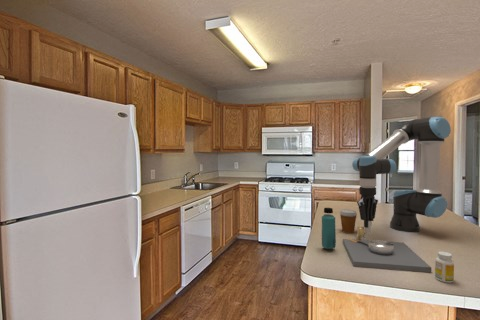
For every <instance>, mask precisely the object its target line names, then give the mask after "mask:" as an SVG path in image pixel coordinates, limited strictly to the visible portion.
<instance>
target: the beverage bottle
mask: <svg viewBox="0 0 480 320" xmlns="http://www.w3.org/2000/svg"><path fill="white" fill-rule="evenodd" d="M323 213H325V214H323V215H322V216H321V247H322V248H325V249H328V250H332V249H336V247H337V245H336V244H337V243H336V242H337V237H336V235H337V234H336V229H337V228H336V217H335V216H334V215H333V213H334V209H333V208H332V207H324V208H323Z"/></svg>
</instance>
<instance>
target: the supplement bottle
mask: <svg viewBox="0 0 480 320" xmlns="http://www.w3.org/2000/svg"><path fill="white" fill-rule="evenodd" d="M452 259H453V254H452V253H450V252H446V251H438V252H437V257H436V258H435V262H434V264H435V268H434V269H435V272H434V276H435V279H436V280H438V281H440V282H442V283H447V284H450V283H454V281H455V279H454V278H455V262H454V260H452Z"/></svg>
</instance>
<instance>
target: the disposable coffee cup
mask: <svg viewBox="0 0 480 320" xmlns="http://www.w3.org/2000/svg"><path fill="white" fill-rule="evenodd" d="M339 215H340V222H341V223H340V224H341V230H342V232H343V233H346V234H354V233H355V228H356V227H355V226H356V222H357V221H356V220H357V215H358V212H357V211H356V210H354V209H347V208H346V209H340V210H339Z"/></svg>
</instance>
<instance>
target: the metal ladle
mask: <svg viewBox="0 0 480 320" xmlns="http://www.w3.org/2000/svg"><path fill="white" fill-rule="evenodd" d="M356 229H357V232H356V233H357V235H355V240H358V241H360V242H363V243H365V244H367V245H368V249H369V250H370V251H371V252H373V253H376V254H381V255H391V254H393V253H394V245H393V244H392V243H389V242H390V241H388V242H386V240H380V239H369V238H367V237H365V233H364V226H357V227H356Z"/></svg>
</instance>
